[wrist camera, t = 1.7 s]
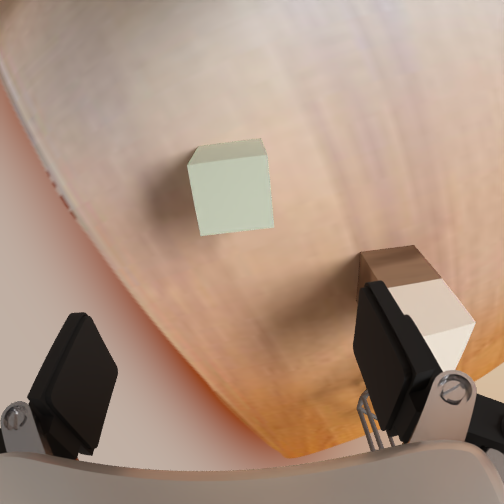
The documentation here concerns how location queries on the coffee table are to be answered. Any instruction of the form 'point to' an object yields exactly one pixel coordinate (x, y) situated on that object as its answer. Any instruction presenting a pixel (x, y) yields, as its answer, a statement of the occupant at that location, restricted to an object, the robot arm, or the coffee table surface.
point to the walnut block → (394, 267)
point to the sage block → (231, 187)
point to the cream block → (437, 318)
